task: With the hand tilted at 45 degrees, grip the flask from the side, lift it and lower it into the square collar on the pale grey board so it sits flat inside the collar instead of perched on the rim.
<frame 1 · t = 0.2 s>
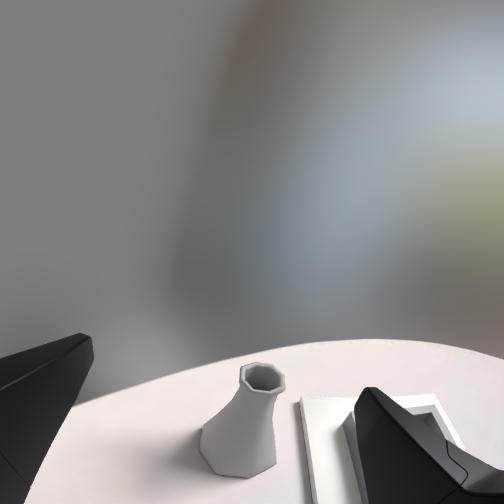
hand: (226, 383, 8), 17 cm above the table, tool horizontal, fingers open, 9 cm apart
collar board: (398, 465, 18), on the table
flask: (237, 448, 20), on the table
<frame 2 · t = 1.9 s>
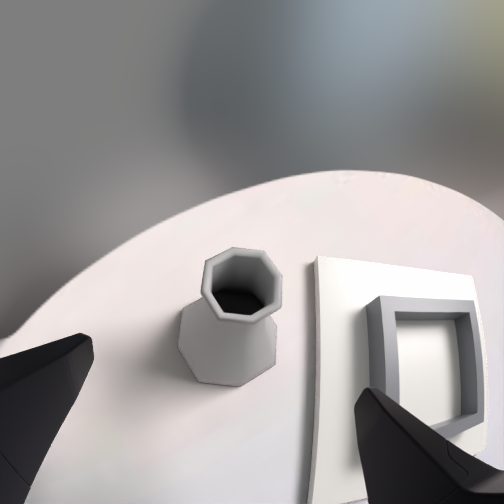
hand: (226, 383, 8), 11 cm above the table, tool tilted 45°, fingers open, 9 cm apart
collar board: (419, 375, 19), on the table
flask: (227, 338, 19), on the table
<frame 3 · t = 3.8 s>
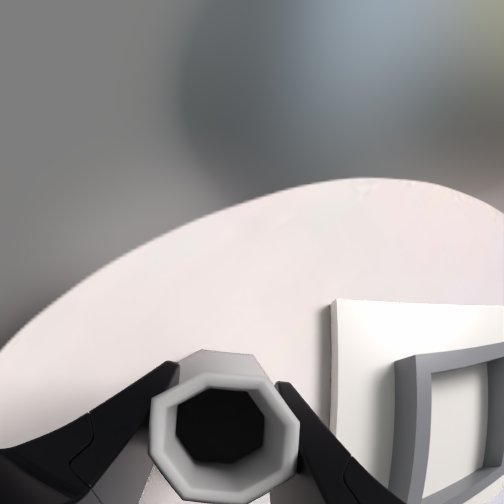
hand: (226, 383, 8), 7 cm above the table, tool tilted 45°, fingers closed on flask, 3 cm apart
collar board: (445, 431, 13), on the table
flask: (216, 411, 13), on the table, touching gripper
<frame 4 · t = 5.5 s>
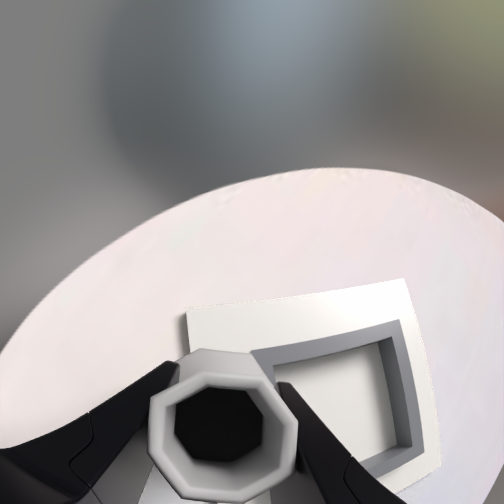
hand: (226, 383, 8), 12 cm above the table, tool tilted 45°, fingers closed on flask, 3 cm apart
collar board: (333, 413, 18), on the table
flask: (215, 409, 13), point 5 cm above the table, touching gripper
when the fingers open (9 cm above the table, at t = 7.1 s): flask drops 1 cm, resting on collar board.
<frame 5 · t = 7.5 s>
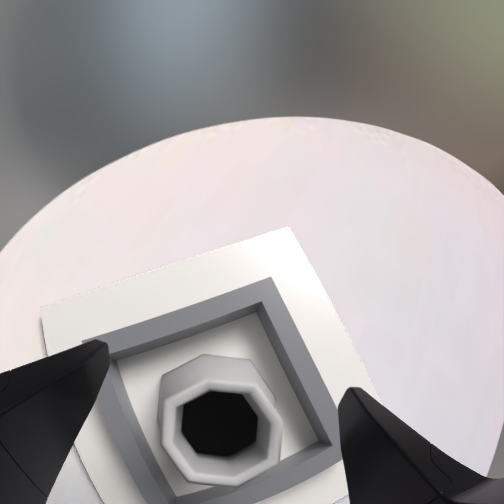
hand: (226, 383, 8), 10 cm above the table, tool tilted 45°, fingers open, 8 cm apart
collar board: (215, 408, 15), on the table
flask: (216, 410, 14), point 1 cm above the table, touching collar board
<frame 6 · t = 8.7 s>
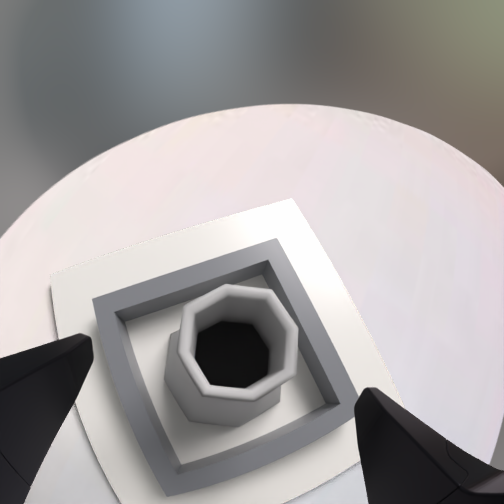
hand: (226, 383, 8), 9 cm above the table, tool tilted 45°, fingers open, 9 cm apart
collar board: (222, 370, 16), on the table
flask: (223, 370, 16), point 1 cm above the table, touching collar board
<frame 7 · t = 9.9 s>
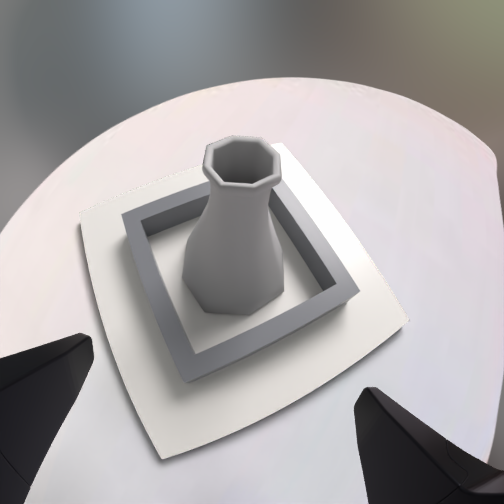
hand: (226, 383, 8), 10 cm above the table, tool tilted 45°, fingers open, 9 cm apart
collar board: (232, 271, 20), on the table
flask: (233, 268, 19), point 1 cm above the table, touching collar board
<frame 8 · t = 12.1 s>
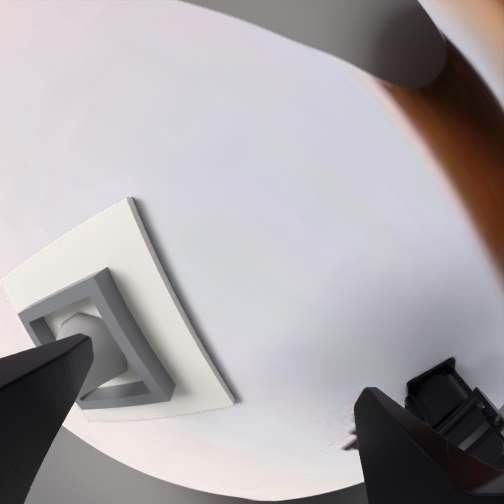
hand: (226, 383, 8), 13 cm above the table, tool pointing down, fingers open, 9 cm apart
collar board: (98, 340, 22), on the table
flask: (95, 344, 22), point 1 cm above the table, touching collar board
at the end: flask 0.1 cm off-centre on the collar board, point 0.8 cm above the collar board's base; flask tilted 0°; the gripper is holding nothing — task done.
